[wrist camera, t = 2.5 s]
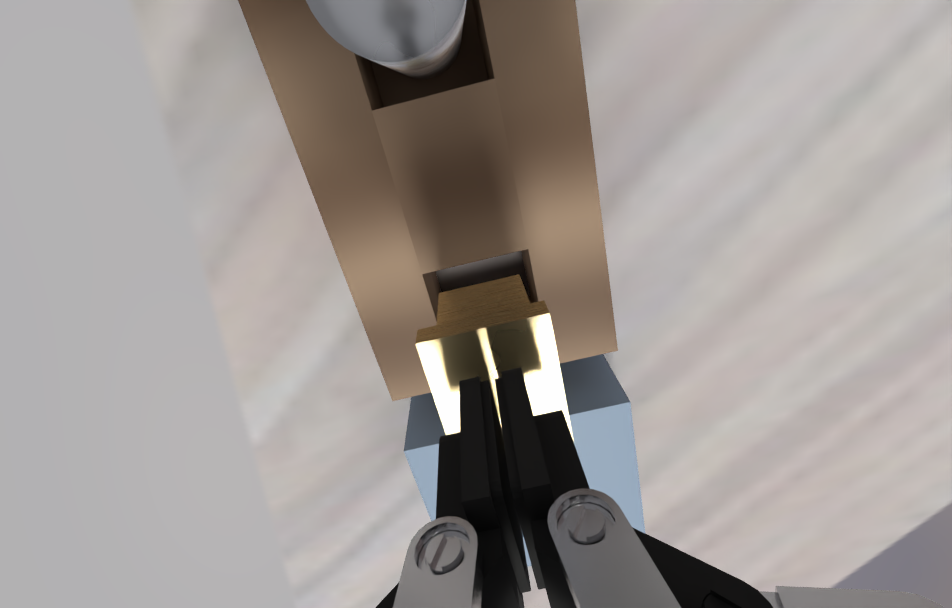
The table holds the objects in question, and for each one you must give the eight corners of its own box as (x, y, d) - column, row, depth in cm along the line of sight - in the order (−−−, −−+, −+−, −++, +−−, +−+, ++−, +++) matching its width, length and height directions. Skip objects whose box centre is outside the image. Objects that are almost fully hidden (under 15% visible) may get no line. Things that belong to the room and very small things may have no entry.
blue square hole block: (413, 385, 25) (403, 451, 20) (596, 343, 24) (630, 401, 19) (454, 502, 28) (455, 580, 24) (614, 469, 28) (646, 542, 23)
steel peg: (368, -2, 16) (263, -122, 7) (449, -25, 16) (444, -177, 7) (394, 87, 18) (330, 80, 9) (469, 68, 17) (486, 38, 8)
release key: (425, 277, 16) (415, 343, 12) (523, 254, 16) (549, 312, 12) (456, 377, 18) (456, 466, 14) (544, 357, 18) (573, 441, 14)
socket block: (251, -68, 16) (193, -115, 13) (526, -147, 16) (548, -221, 12) (402, 354, 24) (392, 401, 20) (592, 310, 23) (617, 350, 20)
